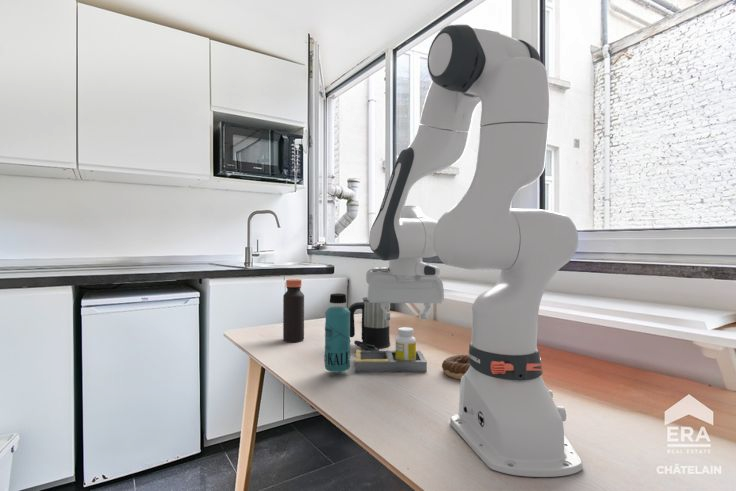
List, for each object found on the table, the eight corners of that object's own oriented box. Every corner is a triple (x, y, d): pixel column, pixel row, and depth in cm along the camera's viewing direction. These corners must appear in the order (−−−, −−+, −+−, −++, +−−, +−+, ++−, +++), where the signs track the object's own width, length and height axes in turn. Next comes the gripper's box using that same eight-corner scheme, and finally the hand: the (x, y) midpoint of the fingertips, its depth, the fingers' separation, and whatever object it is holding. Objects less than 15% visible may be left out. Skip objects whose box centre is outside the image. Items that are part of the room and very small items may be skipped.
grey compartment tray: (426, 371, 96) (426, 360, 96) (355, 372, 95) (355, 360, 95) (420, 359, 106) (420, 349, 106) (356, 359, 105) (356, 349, 105)
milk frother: (384, 339, 127) (384, 295, 127) (404, 353, 112) (405, 303, 112) (343, 343, 122) (343, 297, 122) (359, 358, 107) (359, 305, 107)
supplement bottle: (415, 362, 103) (415, 326, 103) (416, 369, 98) (416, 331, 98) (395, 361, 104) (395, 326, 104) (395, 368, 98) (395, 330, 98)
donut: (492, 382, 89) (492, 365, 89) (448, 383, 89) (448, 366, 89) (477, 367, 100) (477, 352, 100) (437, 368, 99) (437, 352, 99)
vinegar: (296, 336, 130) (297, 278, 130) (308, 340, 125) (308, 280, 125) (279, 339, 126) (279, 279, 126) (290, 344, 121) (290, 281, 121)
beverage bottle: (335, 367, 99) (336, 291, 98) (356, 372, 95) (356, 293, 95) (318, 374, 93) (318, 293, 93) (339, 380, 90) (339, 296, 89)
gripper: (366, 268, 97) (366, 322, 98) (445, 269, 98) (445, 322, 98) (366, 266, 103) (365, 316, 104) (440, 266, 104) (439, 316, 104)
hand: (404, 319), depth 101 cm, fingers open, 8 cm apart
